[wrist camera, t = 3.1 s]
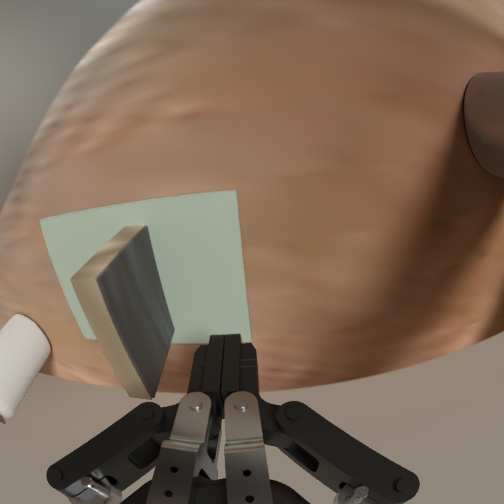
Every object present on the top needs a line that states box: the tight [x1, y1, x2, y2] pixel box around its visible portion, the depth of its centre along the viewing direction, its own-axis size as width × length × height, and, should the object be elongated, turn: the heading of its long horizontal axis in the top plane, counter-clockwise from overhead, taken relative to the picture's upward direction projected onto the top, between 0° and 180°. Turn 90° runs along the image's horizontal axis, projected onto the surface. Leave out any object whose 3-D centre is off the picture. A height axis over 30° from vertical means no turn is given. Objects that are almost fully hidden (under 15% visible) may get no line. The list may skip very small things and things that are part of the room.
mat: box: [40, 190, 251, 344], centre depth 19 cm, size 16×12×1 cm
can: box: [0, 314, 51, 424], centre depth 18 cm, size 6×6×12 cm
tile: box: [70, 224, 175, 400], centre depth 16 cm, size 2×9×7 cm, turn 4°
